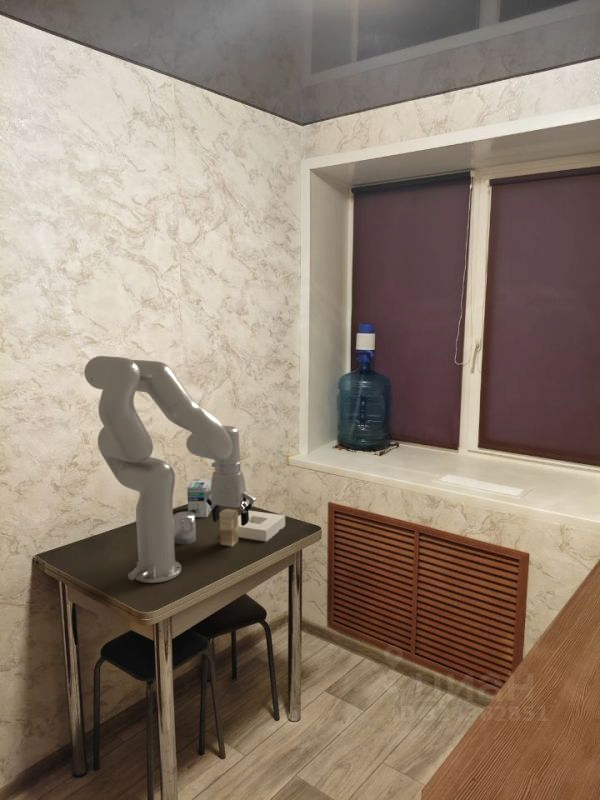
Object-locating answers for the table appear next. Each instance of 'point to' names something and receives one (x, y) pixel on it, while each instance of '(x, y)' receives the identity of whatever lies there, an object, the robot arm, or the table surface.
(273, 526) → the socket block
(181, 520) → the clear glass cup
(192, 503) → the light bulb box
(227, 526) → the square peg
